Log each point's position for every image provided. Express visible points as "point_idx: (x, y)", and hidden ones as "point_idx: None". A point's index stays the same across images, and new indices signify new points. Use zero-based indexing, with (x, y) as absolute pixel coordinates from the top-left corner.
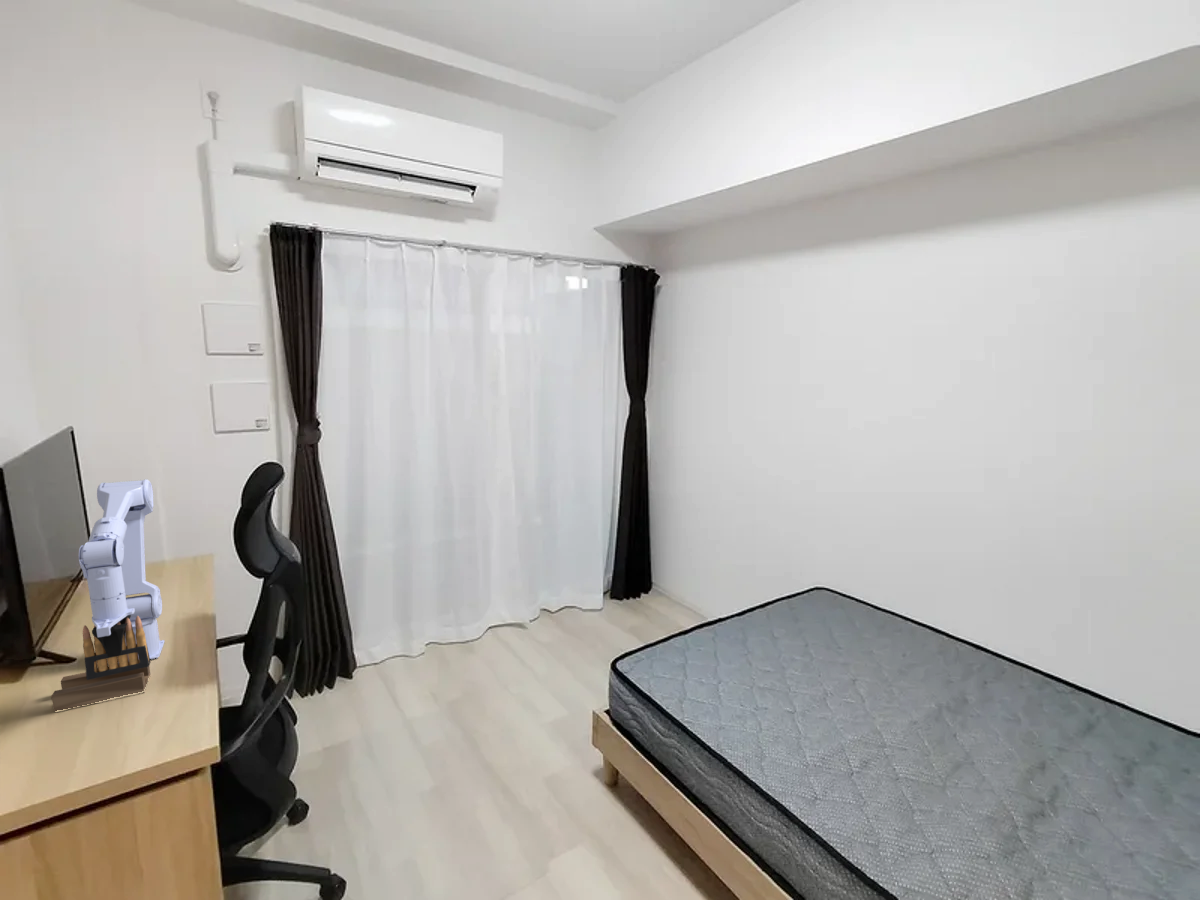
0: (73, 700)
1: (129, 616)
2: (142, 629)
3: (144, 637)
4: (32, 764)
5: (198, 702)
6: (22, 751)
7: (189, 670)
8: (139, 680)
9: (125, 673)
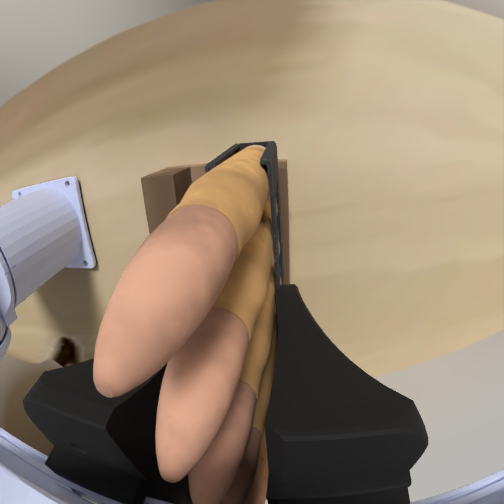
0: None
1: (73, 420)
2: (218, 197)
3: (239, 169)
4: (474, 322)
5: (416, 16)
6: (419, 351)
7: (182, 56)
8: (286, 175)
9: None
